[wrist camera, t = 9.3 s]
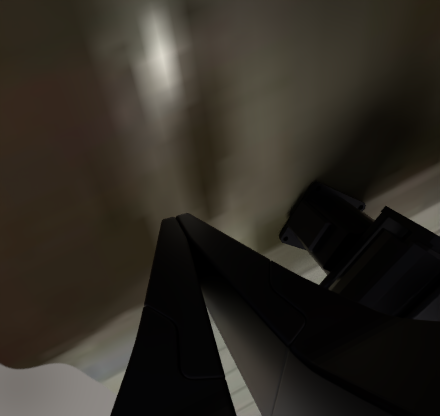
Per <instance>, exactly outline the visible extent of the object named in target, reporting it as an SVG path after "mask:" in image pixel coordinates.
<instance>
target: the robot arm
mask: <svg viewBox="0 0 440 416" xmlns="http://www.w3.org/2000/svg"><path fill="white" fill-rule="evenodd" d="M317 186H318V188H317V189H316V187H317ZM359 206H360V207H359ZM365 206H366V205H365V203H363V202H362V201H360V200H357V199H355V198H353V197H351V196H349V195H346V194H344V193H342V192H340V191H338V190H335V189H333V188H331V187H329V186H327V185H324V184H322V183H320V182H314V183H313V184H312V185H311V186H310V188H309V190H308V191H307V193H306V194H305V196H304V198H303V199H302V201H301V202H300V204H299V205H298V207H297V209H296V210H295V212H294V213H293V215H292V217H291V218H290V220H289V221H288V223H287V225H286V226H285V228H284V229H283V231H282V232H281V234H280V236H279V239H280V240H281V242H282V243H285V244H288V245H291V246H295V247H298V248H301V249H304V250H307V251H308V252H309V254H310V255H311V256H312V257H313V258H314V260H315V261H316V262H317V263H318V264H319V266H320V267H321V268H322V269H323V270H324V272H325V273H326V274H327V276H326V277H325V279H324V280H323V281H322V282H321V283H320V284H319V285H318V284H316V283H314V282H312V281H309V280H307V279H305V278H303V277H301V276H299V275H297V274H295V273H294V272H292V271H290V270H288V269H286V268H284V267H282V266H281V265H279V264H277V263H275V262H274V261H270V260H269V259H268V258H266V257H265V256H263V255H261V254H259V253H258V252H256V251H254V250H252V249H251V248H249V247H247V246H245V245H244V244H242V243H240V242H238V241H237V240H235V239H233V238H231V237H230V236H228V235H226V234H224V233H223V232H221V231H219V230H217V229H216V228H214V227H212V226H210V225H209V224H207V223H205V222H203V221H202V220H200V219H198V218H196V217H195V216H193V215H191V214H189V213H185V214H181V215H178V216H176V218H175V217H170V218H167V219H163V220H162V222H161V227H160V232H159V236H158V241H157V246H156V250H155V255H154V260H153V265H152V269H151V274H150V279H149V284H148V288H147V293H146V298H145V302H144V307H143V311H142V316H141V321H140V325H139V329H138V333H137V337H136V341H135V344H134V347H133V350H132V353H131V357H130V360H129V363H128V366H127V369H126V372H125V375H124V378H123V380H122V383H121V386H120V389H119V392H118V395H117V398H116V401H115V404H114V406H113V409H112V412H111V415H110V416H237V415H236V412H235V409H234V406H233V402H232V399H231V396H230V392H229V389H228V385H227V382H226V380H225V374H224V370H223V367H222V363H221V359H220V356H219V352H218V348H217V345H216V341H215V337H214V334H213V330H212V326H211V323H210V319H209V315H208V312H207V308H208V310H209V312H210V314H211V316H212V318H213V320H214V322H215V324H216V326H217V328H218V330H219V332H220V334H221V336H222V338H223V340H224V342H225V344H226V346H227V348H228V350H229V352H230V354H231V356H232V358H233V360H234V361H235V363H236V365H237V367H238V369H239V371H240V373H241V375H242V377H243V379H244V381H245V383H246V385H247V387H248V389H249V391H250V393H251V395H252V397H253V399H254V401H255V403H256V405H257V407H258V409H259V411H260V413H261V414H262V416H440V237H439V236H438V235H436V234H434V233H433V232H431V231H429V230H428V229H426V228H424V227H422V226H421V225H419V224H417V223H415V222H413V221H412V220H410V219H408V218H406V217H405V216H403V215H401V214H399V213H398V212H396V211H394V210H392V209H391V208H389V207H387V206H385V207H384V208H383V210H382V211H381V212H382V213H381V214H380V215H379V216H378V218H377V219H376V220H374V219H372V218H371V217H369V216H368V215H366V214H365V213H363V212H362V211H363V210H364V209H365ZM284 237H286V238H284ZM283 238H284V239H283ZM206 307H207V308H206Z"/></svg>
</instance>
